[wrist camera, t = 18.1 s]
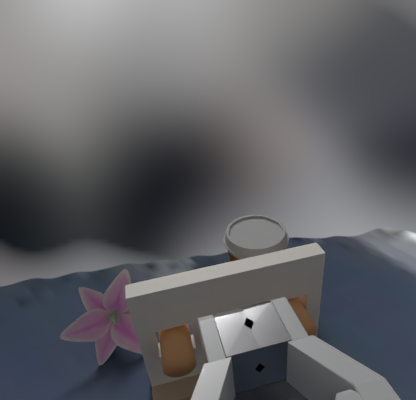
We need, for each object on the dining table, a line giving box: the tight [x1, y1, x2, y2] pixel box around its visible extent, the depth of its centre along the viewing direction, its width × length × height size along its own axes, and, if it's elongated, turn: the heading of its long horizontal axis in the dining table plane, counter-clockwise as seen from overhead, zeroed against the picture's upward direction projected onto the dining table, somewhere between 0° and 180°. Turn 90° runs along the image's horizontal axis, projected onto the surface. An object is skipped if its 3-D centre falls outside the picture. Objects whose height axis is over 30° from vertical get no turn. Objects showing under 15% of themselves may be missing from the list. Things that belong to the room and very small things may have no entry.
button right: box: [287, 297, 317, 336], centre depth 41 cm, size 4×6×4 cm, turn 13°
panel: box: [125, 243, 325, 400], centre depth 41 cm, size 22×7×16 cm, turn 103°
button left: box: [158, 324, 196, 377], centre depth 39 cm, size 4×6×4 cm, turn 13°
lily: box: [60, 269, 142, 365], centre depth 48 cm, size 12×12×10 cm
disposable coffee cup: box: [223, 215, 289, 262], centre depth 52 cm, size 10×10×12 cm
